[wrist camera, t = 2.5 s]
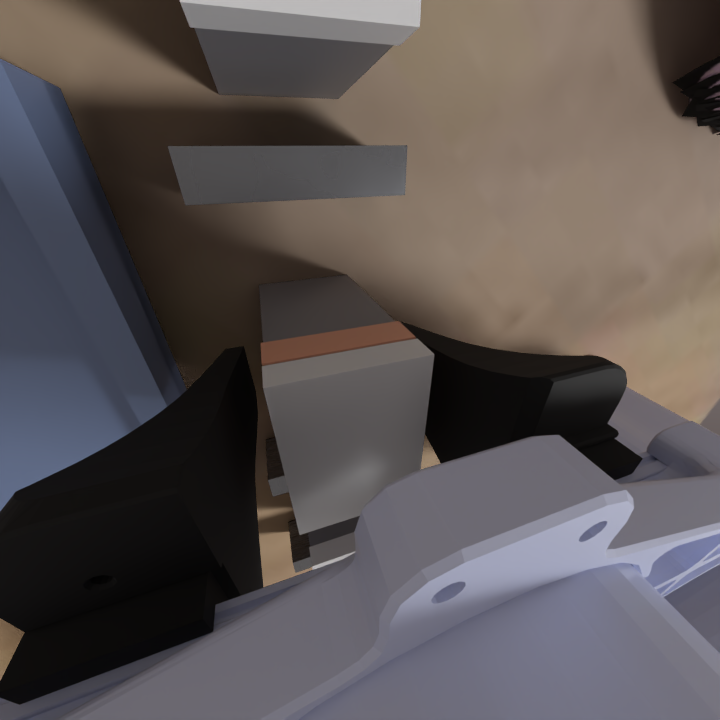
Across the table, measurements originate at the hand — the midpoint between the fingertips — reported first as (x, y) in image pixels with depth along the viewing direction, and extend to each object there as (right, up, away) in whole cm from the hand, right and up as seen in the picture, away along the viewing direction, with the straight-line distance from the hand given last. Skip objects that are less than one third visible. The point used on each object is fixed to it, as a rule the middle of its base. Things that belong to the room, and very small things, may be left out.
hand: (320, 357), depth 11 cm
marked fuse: (-1, +1, +2) cm, 2 cm away
